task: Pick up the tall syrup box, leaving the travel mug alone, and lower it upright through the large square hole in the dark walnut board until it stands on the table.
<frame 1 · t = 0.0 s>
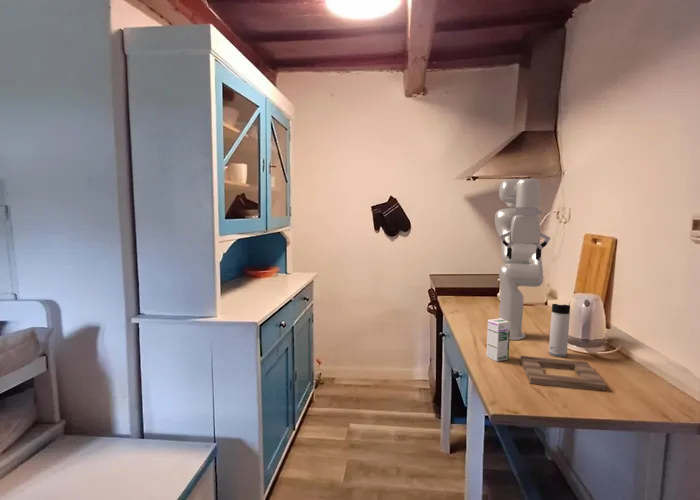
hand: (523, 259, 162), 37 cm above the kitchen counter, tool pointing down, fingers open, 9 cm apart
hole board: (559, 374, 147), on the kitchen counter
travel mug: (557, 355, 167), on the kitchen counter
syrup box: (497, 358, 162), on the kitchen counter
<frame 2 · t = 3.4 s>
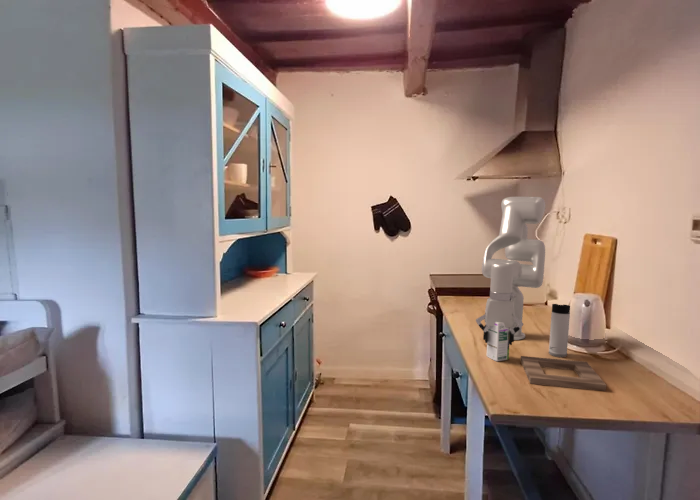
hand: (498, 342, 161), 6 cm above the kitchen counter, tool pointing down, fingers closed on syrup box, 8 cm apart
syrup box: (497, 358, 162), on the kitchen counter, touching gripper
everything else where it was.
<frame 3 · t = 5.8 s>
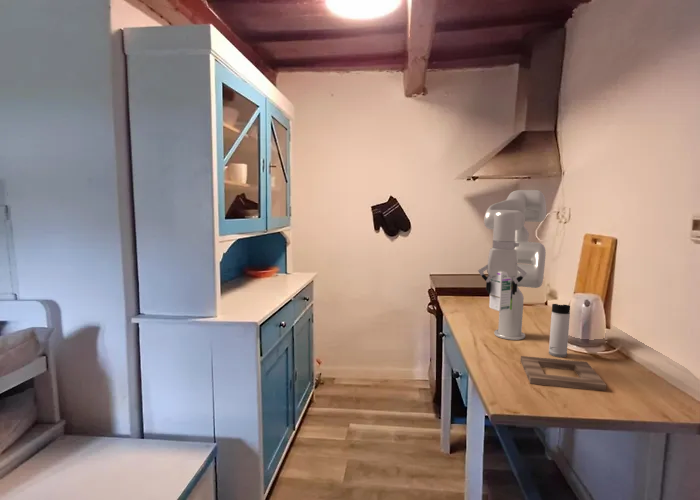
hand: (501, 292, 160), 25 cm above the kitchen counter, tool pointing down, fingers closed on syrup box, 8 cm apart
syrup box: (500, 309, 160), point 18 cm above the kitchen counter, touching gripper
everything else where it was.
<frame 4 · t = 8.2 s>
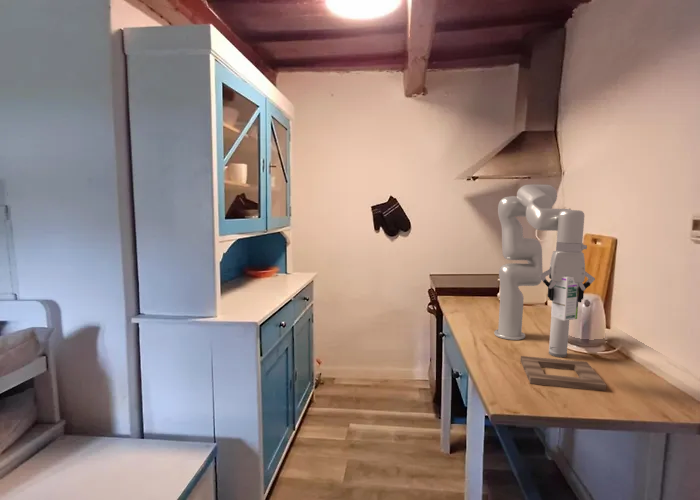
hand: (564, 300, 144), 26 cm above the kitchen counter, tool pointing down, fingers closed on syrup box, 8 cm apart
syrup box: (563, 318, 145), point 19 cm above the kitchen counter, touching gripper
everything else where it was.
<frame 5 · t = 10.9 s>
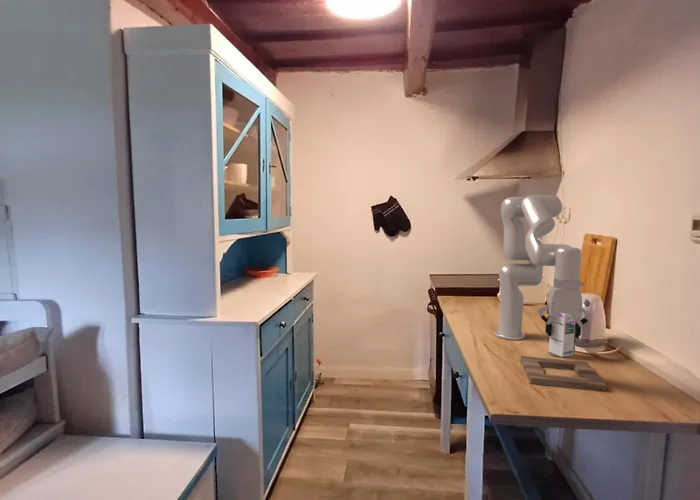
hand: (562, 336, 146), 14 cm above the kitchen counter, tool pointing down, fingers closed on syrup box, 8 cm apart
syrup box: (561, 353, 146), point 7 cm above the kitchen counter, touching gripper
everything else where it was.
when the fingers open (6 cm above the kitchen counter, at t = 13.3 s): syrup box stays where it is, resting in hole board.
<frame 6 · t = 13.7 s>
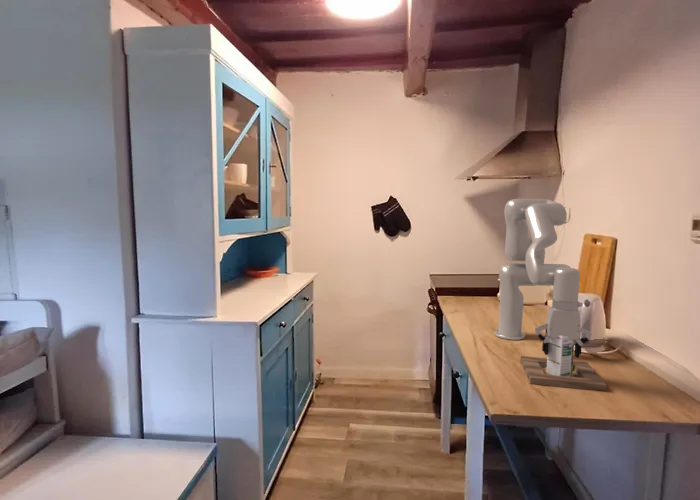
hand: (561, 354, 147), 7 cm above the kitchen counter, tool pointing down, fingers open, 9 cm apart
syrup box: (558, 375, 148), resting in hole board
everything else where it was.
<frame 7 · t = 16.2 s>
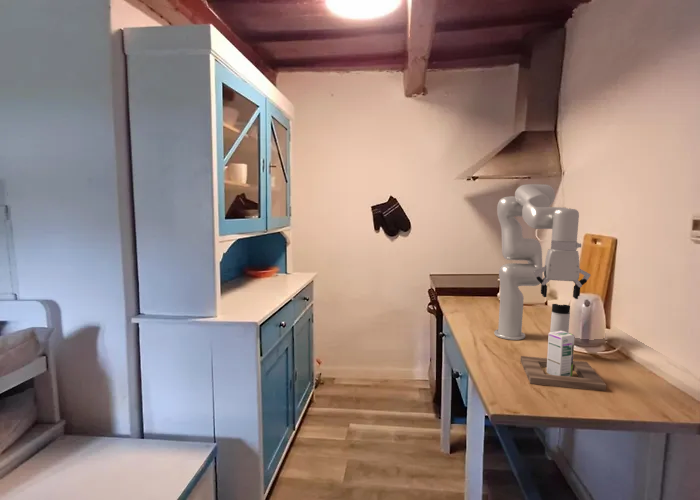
hand: (559, 297, 146), 26 cm above the kitchen counter, tool pointing down, fingers open, 9 cm apart
nothing on the kitchen counter moved.
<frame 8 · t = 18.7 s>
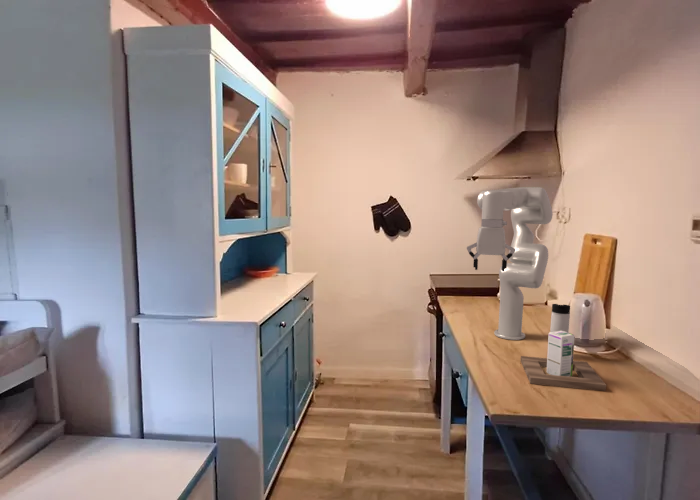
hand: (489, 270, 163), 32 cm above the kitchen counter, tool pointing down, fingers open, 9 cm apart
nothing on the kitchen counter moved.
at the end: syrup box 0.2 cm off-centre on the hole board, point 0.0 cm above the hole board's base; syrup box tilted 0°; the gripper is holding nothing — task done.
